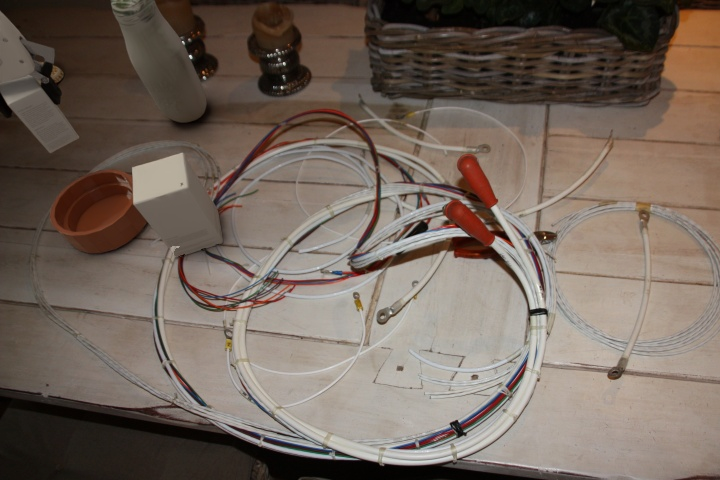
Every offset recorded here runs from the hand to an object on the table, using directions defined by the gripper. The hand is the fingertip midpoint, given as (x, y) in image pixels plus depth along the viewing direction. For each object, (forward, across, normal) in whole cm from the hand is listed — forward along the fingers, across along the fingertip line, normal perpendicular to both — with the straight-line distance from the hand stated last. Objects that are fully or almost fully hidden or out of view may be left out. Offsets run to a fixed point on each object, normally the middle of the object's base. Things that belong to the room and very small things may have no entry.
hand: (34, 105), depth 89 cm
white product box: (+22, +17, -17) cm, 33 cm away
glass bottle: (+22, +18, +17) cm, 33 cm away
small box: (+7, 0, 0) cm, 7 cm away
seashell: (+22, -15, +45) cm, 53 cm away
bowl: (+22, +1, -8) cm, 23 cm away
